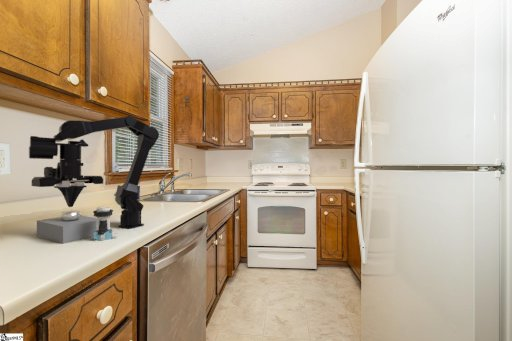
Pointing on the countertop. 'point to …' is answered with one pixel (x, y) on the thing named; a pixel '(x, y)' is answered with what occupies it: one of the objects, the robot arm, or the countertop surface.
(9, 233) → the countertop surface
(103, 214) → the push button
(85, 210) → the countertop surface
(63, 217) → the knob
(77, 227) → the panel
